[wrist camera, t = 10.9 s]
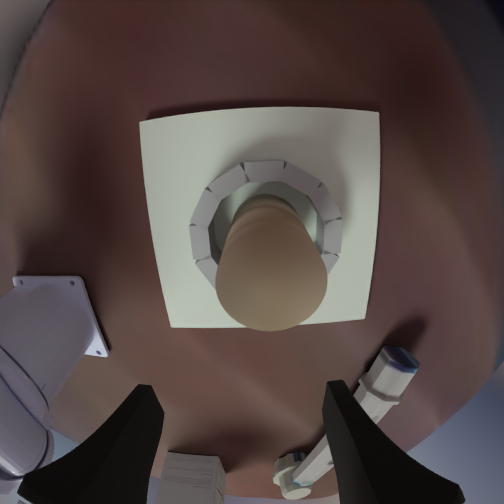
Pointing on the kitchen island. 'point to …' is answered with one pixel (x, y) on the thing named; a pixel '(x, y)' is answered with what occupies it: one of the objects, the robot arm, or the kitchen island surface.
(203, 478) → the supplement box
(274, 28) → the kitchen island surface
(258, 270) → the maple peg
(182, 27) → the kitchen island surface
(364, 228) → the collar plate
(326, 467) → the white handheld device
